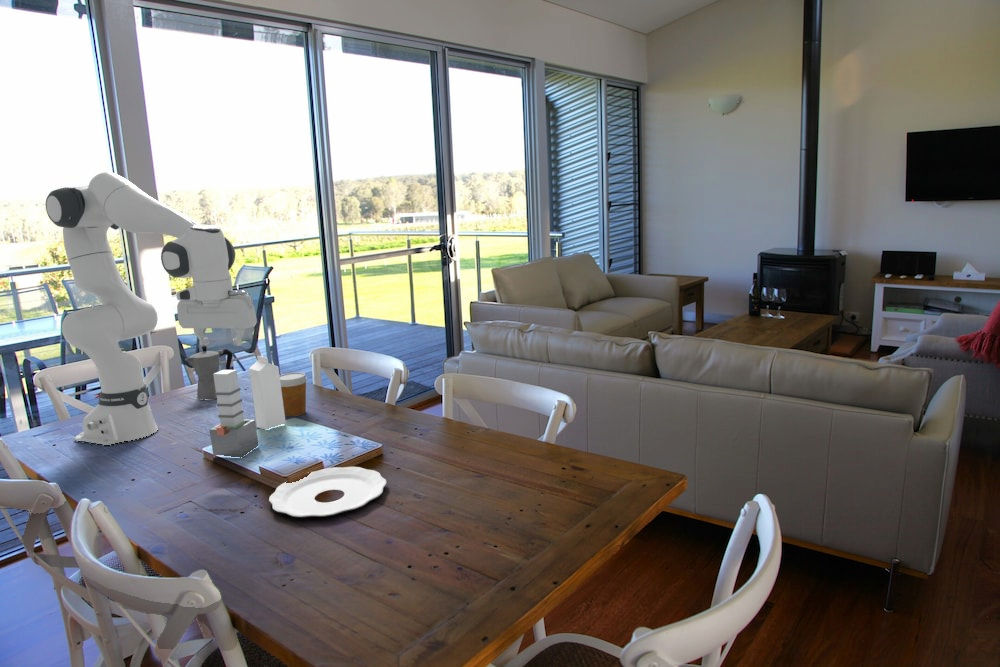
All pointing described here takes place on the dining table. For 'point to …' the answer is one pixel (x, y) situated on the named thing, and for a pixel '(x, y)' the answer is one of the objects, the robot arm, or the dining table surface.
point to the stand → (234, 439)
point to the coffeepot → (208, 370)
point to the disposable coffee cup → (293, 393)
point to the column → (228, 399)
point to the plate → (301, 494)
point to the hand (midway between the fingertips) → (221, 345)
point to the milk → (267, 394)
